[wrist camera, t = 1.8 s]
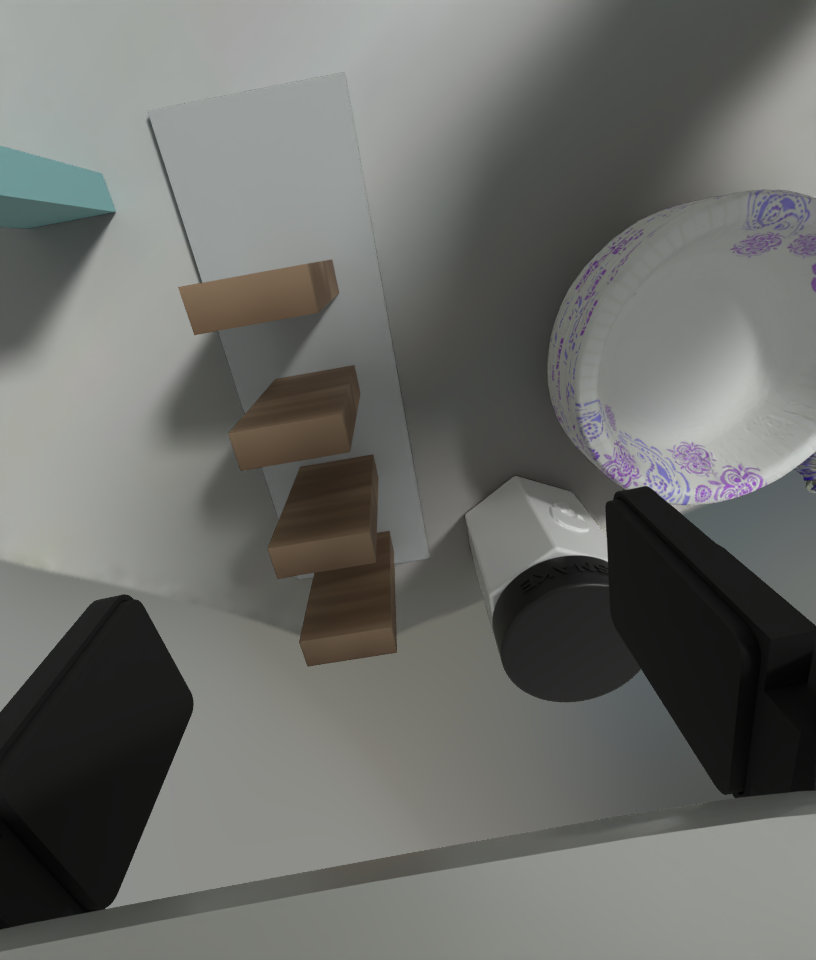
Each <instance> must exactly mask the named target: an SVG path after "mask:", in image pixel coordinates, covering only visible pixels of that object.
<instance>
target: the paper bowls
mask: <svg viewBox="0 0 816 960" xmlns="http://www.w3.org/2000/svg"><path fill="white" fill-rule="evenodd" d="M547 374H548V388H549V392H550V398H551V402H552V405H553V408H554V410H555V413H556V416H557V419H558V420H559V422H560V424H561V426H562V428H563V429H564V431H565V432H566V434H567V436H568V437H569V438H570V440H571V441H572V442H573V443H574V445H575V446H576V447H577V448H578V449H579V450H580V451H581V452H582V453H583V454H584V455H585V456H586V457H587V458H588V459H589V460H590V461H591V462H592V463H593V464H594V465H595V466H596V467H597V468H598V469H599V470H600V471H601V472H602V473H603V474H604V475H606V476H607V477H608V478H609V479H610V480H612V481H614V482H615V483H616V484H618V485H619V486H621V487H622V488H624V489H626V490H629V489H634V488H638V487H643V486H648V487H650V488H651V489H653V490H654V491H655V492H656V493H657V494H658V495H660V496H661V497H662V498H663V499H664V500H665V501H667V502H668V503H669V504H675V505H701V504H710V503H716V502H722V501H725V500H730V499H734V498H737V497H740V496H743V495H746V494H748V493H751V492H754V491H756V490H758V489H760V488H762V487H764V486H767V485H769V484H770V483H772V482H774V481H776V480H778V479H779V478H781V477H783V476H784V475H786V474H787V473H789V472H790V471H791V470H793V469H794V468H796V467H797V466H798V465H800V464H801V463H802V462H804V461H805V460H806V459H807V458H809V457H810V456H811V455H812V454H813V453H815V452H816V198H813V197H811V196H808V195H803V194H800V193H796V192H792V191H786V190H756V191H745V192H739V193H733V194H730V195H724V196H717V197H712V198H708V199H703V200H697V201H692V202H688V203H683V204H680V205H677V206H673V207H670V208H666V209H663V210H661V211H659V212H656V213H654V214H651V215H649V216H646V217H645V218H644V219H641V220H639V221H637V222H636V223H635V224H633V225H631V226H630V227H629V228H627V229H626V230H625V231H623V232H622V233H620V234H619V235H617V236H616V237H615V238H614V239H612V240H611V241H610V242H609V243H608V244H607V245H606V246H605V247H604V248H603V249H602V250H601V251H600V252H599V253H597V254H596V255H595V256H594V258H593V259H592V260H591V261H590V262H589V263H588V264H587V265H586V266H585V267H584V269H583V270H582V271H581V273H580V274H579V276H578V277H577V278H576V280H575V281H574V283H573V284H572V285H571V287H570V288H569V290H568V292H567V294H566V296H565V298H564V300H563V302H562V304H561V307H560V310H559V312H558V315H557V318H556V320H555V324H554V327H553V331H552V335H551V339H550V344H549V354H548V367H547Z"/></svg>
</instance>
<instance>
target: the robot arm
mask: <svg viewBox="0 0 816 960" xmlns="http://www.w3.org/2000/svg"><path fill="white" fill-rule="evenodd" d="M606 531H607V553H608V575H609V597H610V613H611V618H612V621H613V624H614V626H615V628H616V630H617V632H618V633H619V635H620V636H621V638H622V639H623V641H624V643H625V644H626V646H627V647H628V649H629V651H630V652H631V654H632V655H633V657H634V658H635V660H636V662H637V663H638V665H639V666H640V668H641V669H642V671H643V673H644V674H645V676H646V677H647V679H648V680H649V682H650V684H651V685H652V687H653V688H654V690H655V691H656V693H657V695H658V696H659V698H660V699H661V701H662V703H663V704H664V706H665V707H666V709H667V710H668V712H669V714H670V715H671V717H672V718H673V720H674V721H675V723H676V725H677V726H678V728H679V729H680V731H681V733H682V734H683V736H684V737H685V739H686V740H687V742H688V744H689V745H690V747H691V748H692V750H693V752H694V753H695V755H696V756H697V758H698V759H699V761H700V763H701V764H702V766H703V767H704V768H705V770H706V772H707V773H708V775H709V776H710V778H711V780H712V781H713V783H714V785H715V786H716V787H717V789H718V790H719V791H720V792H721V793H723V794H724V795H727V794H733V796H734V797H735V798H734V799H727V800H720V801H714V802H707V803H702V804H695V805H689V806H682V807H676V808H669V809H664V810H657V811H650V812H644V813H637V814H631V815H625V816H618V817H612V818H606V819H600V820H595V821H589V822H584V823H578V824H572V825H566V826H561V827H555V828H549V829H544V830H538V831H533V832H527V833H521V834H516V835H510V836H504V837H498V838H493V839H487V840H481V841H476V842H470V843H465V844H459V845H453V846H447V847H441V848H436V849H430V850H424V851H419V852H413V853H408V854H402V855H397V856H391V857H386V858H381V859H376V860H369V861H364V862H358V863H353V864H348V865H342V866H336V867H331V868H325V869H320V870H315V871H309V872H303V873H298V874H292V875H287V876H282V877H277V878H270V879H265V880H260V881H254V882H249V883H243V884H238V885H232V886H227V887H221V888H216V889H210V890H205V891H200V892H195V893H189V894H184V895H179V896H173V897H168V898H163V899H157V900H152V901H147V902H142V903H137V904H131V905H125V906H120V907H115V908H110V909H105V908H106V907H108V906H109V905H110V904H111V903H112V902H113V901H114V899H115V897H116V896H117V893H118V891H119V889H120V887H121V884H122V882H123V879H124V877H125V874H126V872H127V870H128V867H129V865H130V862H131V860H132V858H133V855H134V853H135V850H136V848H137V845H138V843H139V841H140V838H141V836H142V833H143V831H144V828H145V826H146V823H147V821H148V819H149V816H150V814H151V811H152V809H153V807H154V804H155V802H156V799H157V797H158V795H159V792H160V790H161V787H162V785H163V782H164V780H165V778H166V775H167V773H168V770H169V768H170V765H171V763H172V761H173V758H174V756H175V753H176V751H177V748H178V746H179V744H180V741H181V739H182V736H183V734H184V731H185V729H186V727H187V724H188V722H189V719H190V717H191V714H192V711H193V697H192V694H191V692H190V690H189V688H188V686H187V685H186V683H185V681H184V679H183V677H182V675H181V674H180V672H179V670H178V668H177V666H176V664H175V663H174V661H173V659H172V657H171V655H170V653H169V652H168V650H167V648H166V646H165V644H164V642H163V641H162V639H161V637H160V635H159V633H158V631H157V630H156V628H155V626H154V624H153V622H152V620H151V619H150V617H149V615H148V613H147V611H146V609H145V608H144V606H143V604H142V603H141V602H140V601H139V600H134V599H133V598H132V597H130V596H129V595H125V594H124V595H119V596H114V597H110V598H105V599H100V600H96V601H94V602H93V603H92V604H90V606H89V607H88V608H87V609H86V610H85V612H84V613H83V614H82V615H81V617H79V619H78V620H77V621H76V622H75V623H74V625H73V626H72V627H71V628H70V630H69V631H68V632H67V633H66V634H65V636H64V637H63V638H62V639H61V640H60V641H59V643H58V644H57V645H56V646H55V648H54V649H53V650H52V651H51V652H50V653H49V655H48V656H47V657H46V658H45V659H44V661H43V662H42V663H41V664H40V665H39V667H38V668H37V669H36V670H35V672H34V673H33V674H32V675H31V676H30V677H29V679H28V680H27V681H26V682H25V684H24V685H23V686H22V687H21V688H20V689H19V691H18V692H17V693H16V694H15V695H14V697H13V698H12V699H11V700H10V701H9V703H8V704H7V705H6V706H5V707H4V709H3V710H2V711H1V712H0V960H816V626H815V625H814V624H813V623H812V622H810V621H809V620H808V619H807V618H806V617H805V616H803V615H802V614H801V613H800V612H799V611H798V610H796V609H795V608H794V607H793V606H792V605H790V604H789V603H788V602H787V601H786V600H785V599H783V598H782V597H781V596H780V595H779V594H778V593H776V592H775V591H774V590H773V589H771V588H770V587H769V586H768V585H767V584H766V583H764V582H763V581H762V580H761V579H760V578H759V577H757V576H756V575H755V574H754V573H753V572H752V571H750V570H749V569H748V568H747V567H745V566H744V565H743V564H742V563H741V562H739V561H738V560H737V559H736V558H735V557H734V556H733V555H731V554H730V553H729V552H728V551H727V550H726V549H724V548H723V547H721V546H719V545H718V544H716V543H715V542H714V541H712V540H711V539H710V538H709V537H708V536H706V535H705V534H704V533H703V532H702V531H701V530H699V529H698V528H697V527H696V526H695V525H694V524H692V523H691V522H690V521H689V520H688V519H687V518H685V517H684V516H683V515H682V514H681V513H680V512H678V511H677V510H676V509H675V508H674V507H672V506H671V505H670V504H669V503H668V502H667V501H665V500H664V499H663V498H662V497H661V496H660V495H658V494H657V493H656V492H655V491H654V490H653V489H651V488H650V487H648V486H643V487H638V488H634V489H629V490H624V491H619V492H616V493H615V495H614V500H613V501H608V502H607V503H606Z"/></svg>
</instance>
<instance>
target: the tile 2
mask: <svg viewBox="0 0 816 960" xmlns="http://www.w3.org/2000/svg"><path fill="white" fill-rule="evenodd" d="M178 288H179V291H180V294H181V297H182V300H183V303H184V306H185V309H186V312H187V315H188V317H189V320H190V323H191V326H192V329H193V332H194V335H198V334H203V333H209V332H215V331H220V330H226V329H231V328H237V327H242V326H248V325H253V324H259V323H265V322H270V321H276V320H281V319H287V318H292V317H298V316H304V315H309V314H315V313H318V312H319V311H320V310H322V309H323V308H324V307H325V306H326V305H327V304H328V303H329V302H330V301H331V300H332V299H334V298H335V297H336V296H337V295H338V294H339V289H338V284H337V279H336V275H335V270H334V265H333V260H326V261H320V262H314V263H308V264H302V265H297V266H291V267H286V268H280V269H275V270H269V271H264V272H258V273H253V274H247V275H242V276H237V277H231V278H226V279H220V280H215V281H209V282H204V283H198V284H193V285H187V286H182V287H178Z"/></svg>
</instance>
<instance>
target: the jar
mask: <svg viewBox="0 0 816 960" xmlns="http://www.w3.org/2000/svg"><path fill="white" fill-rule="evenodd" d="M465 520H466V525H467V531H468V536H469V541H470V546H471V552H472V557H473V562H474V567H475V570H476V574H477V577H478V581H479V584H480V588H481V591H482V595H483V599H484V602H485V605H486V609H487V613H488V616H489V620H490V623H491V626H492V630H493V634H494V638H495V641H496V645H497V648H498V652H499V654H500V657H501V661H502V664H503V667H504V670H505V671H506V673H507V675H508V677H509V678H510V679H511V681H512V682H513V683H514V684H515V685H516V686H517V687H519V688H520V689H521V690H523V691H524V692H526V693H528V694H530V695H532V696H534V697H537V698H540V699H543V700H547V701H554V702H577V701H584V700H589V699H592V698H596V697H599V696H602V695H604V694H607V693H609V692H611V691H613V690H615V689H617V688H619V687H620V686H622V685H623V684H625V683H626V682H628V681H629V680H630V679H632V678H633V677H634V676H635V675H636V674H637V673H638V672H639V671H640V670H641V668H640V666H639V665H638V663H637V662H636V660H635V658H634V657H633V655H632V654H631V652H630V651H629V649H628V647H627V646H626V644H625V643H624V641H623V639H622V638H621V636H620V635H619V633H618V632H617V630H616V628H615V626H614V624H613V621H612V618H611V613H610V597H609V575H608V553H607V536H606V535H605V534H604V532H603V531H602V530H601V528H600V527H599V526H598V525H597V523H596V522H595V521H594V519H593V518H592V517H591V515H590V514H589V513H588V512H587V510H586V509H585V508H584V506H583V505H582V504H581V503H580V501H579V500H578V499H577V497H576V496H575V495H574V494H573V493H572V492H570V491H567V490H563V489H560V488H556V487H553V486H549V485H546V484H542V483H539V482H535V481H532V480H529V479H525V478H522V477H518V476H514V477H512V478H511V479H510V480H508V481H507V482H506V483H505V484H503V485H502V486H501V487H500V488H498V489H497V490H496V491H494V492H493V493H492V494H491V495H489V496H488V497H487V498H485V499H484V500H483V501H482V502H480V503H479V504H478V505H477V506H475V507H474V508H473V509H471V510H470V511H469V512H468V513H466V515H465Z"/></svg>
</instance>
